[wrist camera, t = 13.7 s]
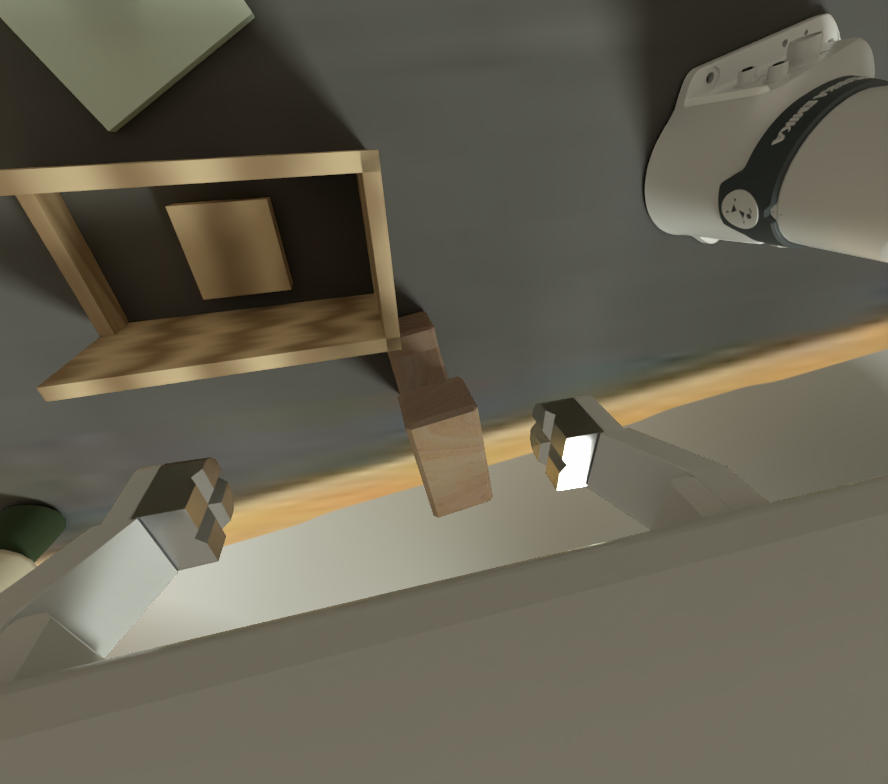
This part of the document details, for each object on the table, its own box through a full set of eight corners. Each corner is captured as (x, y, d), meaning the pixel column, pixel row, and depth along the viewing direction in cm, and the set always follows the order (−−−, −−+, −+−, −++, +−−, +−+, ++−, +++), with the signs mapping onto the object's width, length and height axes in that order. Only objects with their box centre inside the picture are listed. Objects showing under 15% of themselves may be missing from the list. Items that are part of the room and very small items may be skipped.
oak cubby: (366, 149, 34) (378, 149, 24) (386, 302, 42) (401, 349, 32) (27, 167, 30) (-125, 177, 20) (122, 335, 38) (46, 401, 28)
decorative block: (378, 320, 43) (405, 426, 27) (426, 308, 44) (481, 404, 27) (400, 398, 49) (433, 522, 33) (442, 386, 50) (494, 502, 34)
